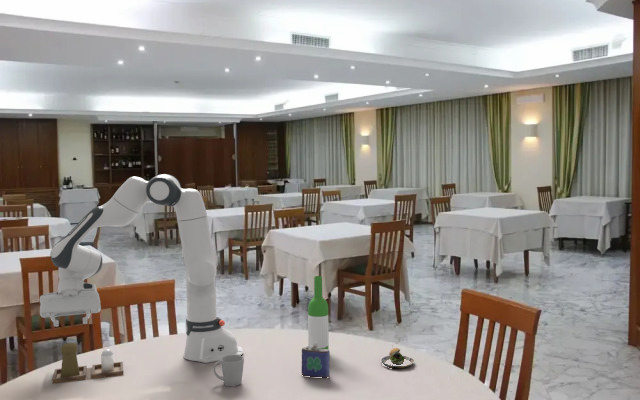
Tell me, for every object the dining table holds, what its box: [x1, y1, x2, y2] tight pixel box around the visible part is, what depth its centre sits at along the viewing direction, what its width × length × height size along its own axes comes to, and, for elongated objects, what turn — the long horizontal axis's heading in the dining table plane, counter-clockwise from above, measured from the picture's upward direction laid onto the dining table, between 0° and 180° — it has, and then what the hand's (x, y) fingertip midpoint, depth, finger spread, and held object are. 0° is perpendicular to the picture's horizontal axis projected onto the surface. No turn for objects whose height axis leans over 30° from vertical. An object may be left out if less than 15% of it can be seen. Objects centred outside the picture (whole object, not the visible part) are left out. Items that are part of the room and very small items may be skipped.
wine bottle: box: [307, 275, 330, 351], centre depth 224 cm, size 8×8×30 cm
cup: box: [213, 355, 245, 387], centre depth 195 cm, size 8×10×8 cm
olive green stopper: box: [60, 342, 80, 377], centre depth 199 cm, size 6×6×11 cm
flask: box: [301, 344, 331, 379], centre depth 201 cm, size 10×3×12 cm, turn 74°
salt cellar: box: [100, 348, 115, 373], centre depth 203 cm, size 4×4×8 cm
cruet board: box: [51, 361, 125, 385], centre depth 201 cm, size 22×12×3 cm, turn 110°
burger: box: [381, 345, 414, 369], centre depth 213 cm, size 12×12×8 cm
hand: (70, 324), depth 207 cm, fingers open, 8 cm apart
